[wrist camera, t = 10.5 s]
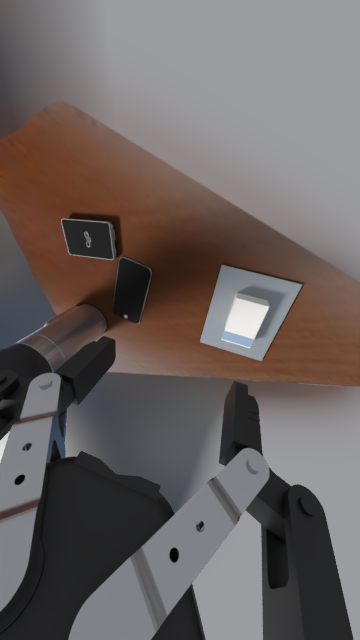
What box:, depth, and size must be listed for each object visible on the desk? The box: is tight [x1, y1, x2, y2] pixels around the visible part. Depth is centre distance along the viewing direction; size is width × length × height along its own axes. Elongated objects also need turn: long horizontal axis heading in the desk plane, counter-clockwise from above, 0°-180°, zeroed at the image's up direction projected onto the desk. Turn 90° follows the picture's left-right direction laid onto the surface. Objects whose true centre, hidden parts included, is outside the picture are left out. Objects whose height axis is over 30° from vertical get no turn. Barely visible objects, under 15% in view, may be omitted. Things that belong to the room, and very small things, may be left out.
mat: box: [200, 265, 302, 361], centre depth 39 cm, size 14×18×1 cm
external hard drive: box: [61, 218, 117, 260], centre depth 40 cm, size 7×11×2 cm, turn 87°
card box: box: [221, 293, 269, 348], centre depth 37 cm, size 10×6×3 cm, turn 170°
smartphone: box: [112, 257, 152, 324], centre depth 44 cm, size 8×1×15 cm
